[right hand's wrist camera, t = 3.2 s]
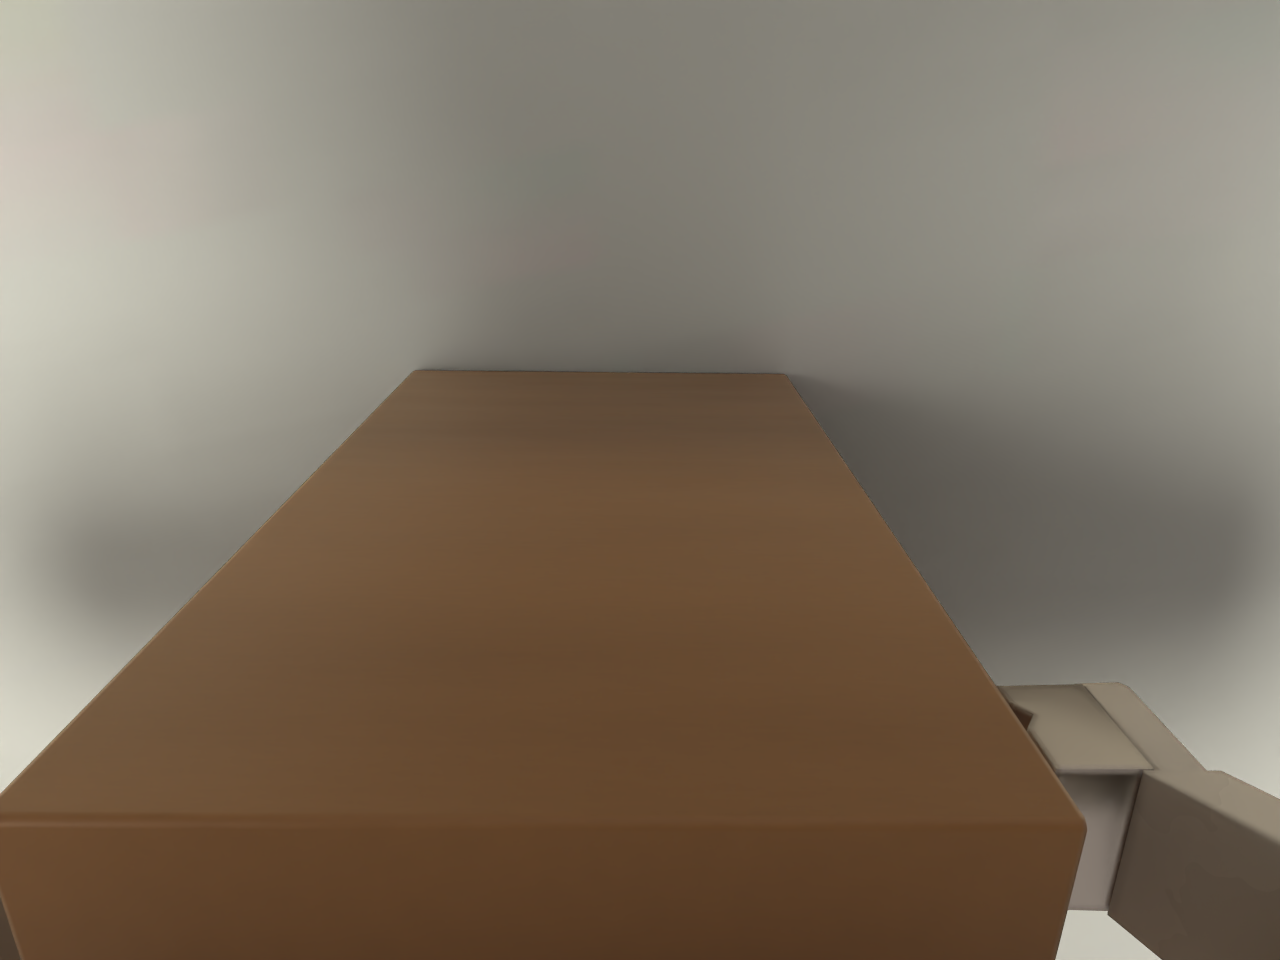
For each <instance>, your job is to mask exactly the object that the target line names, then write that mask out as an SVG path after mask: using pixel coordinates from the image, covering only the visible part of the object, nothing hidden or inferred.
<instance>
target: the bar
mask: <svg viewBox="0 0 1280 960" xmlns="http://www.w3.org/2000/svg"><path fill="white" fill-rule="evenodd" d="M1086 834H1087V824H1086V820H1085V817H1084V816H1083V814H1082V813H1081V811H1080V810H1079V808H1078V807H1077V805H1076V804H1075V802H1074V801H1073V800H1072V798H1071V797H1070V795H1069V794H1068V792H1067V791H1066V789H1065V788H1064V786H1063V785H1062V783H1061V782H1060V780H1059V779H1058V777H1057V776H1056V774H1055V773H1054V771H1053V770H1052V768H1051V767H1050V765H1049V764H1048V762H1047V761H1046V759H1045V758H1044V757H1043V755H1042V754H1041V752H1040V751H1039V749H1038V748H1037V746H1036V745H1035V743H1034V742H1033V740H1032V739H1031V737H1030V736H1029V734H1028V733H1027V731H1026V730H1025V728H1024V727H1023V725H1022V724H1021V722H1020V721H1019V719H1018V718H1017V717H1016V715H1015V714H1014V712H1013V711H1012V709H1011V708H1010V706H1009V705H1008V703H1007V702H1006V700H1005V699H1004V697H1003V696H1002V694H1001V693H1000V691H999V690H998V688H997V687H996V685H995V684H994V682H993V681H992V679H991V678H990V677H989V675H988V674H987V672H986V671H985V669H984V668H983V666H982V665H981V663H980V662H979V660H978V659H977V657H976V656H975V654H974V653H973V651H972V650H971V648H970V647H969V645H968V644H967V642H966V641H965V639H964V638H963V636H962V635H961V634H960V632H959V631H958V629H957V628H956V626H955V625H954V623H953V622H952V620H951V619H950V617H949V616H948V614H947V613H946V611H945V610H944V608H943V607H942V605H941V604H940V602H939V601H938V599H937V598H936V596H935V595H934V594H933V592H932V591H931V589H930V588H929V586H928V585H927V583H926V582H925V580H924V579H923V577H922V576H921V574H920V573H919V571H918V570H917V568H916V567H915V565H914V564H913V562H912V561H911V559H910V558H909V556H908V555H907V553H906V552H905V551H904V549H903V548H902V546H901V545H900V543H899V542H898V540H897V539H896V537H895V536H894V534H893V533H892V531H891V530H890V528H889V527H888V525H887V524H886V522H885V521H884V519H883V518H882V516H881V515H880V513H879V512H878V511H877V509H876V508H875V506H874V505H873V503H872V502H871V500H870V499H869V497H868V496H867V494H866V493H865V491H864V490H863V488H862V487H861V485H860V484H859V482H858V481H857V479H856V478H855V476H854V475H853V473H852V472H851V470H850V469H849V468H848V466H847V465H846V463H845V462H844V460H843V459H842V457H841V456H840V454H839V453H838V451H837V450H836V448H835V447H834V445H833V444H832V442H831V441H830V439H829V438H828V436H827V435H826V433H825V432H824V430H823V429H822V428H821V426H820V425H819V423H818V422H817V420H816V419H815V417H814V416H813V414H812V413H811V411H810V410H809V408H808V407H807V405H806V404H805V402H804V401H803V399H802V398H801V396H800V395H799V393H798V392H797V390H796V389H795V388H794V386H793V385H792V383H791V382H790V380H789V379H788V377H787V376H786V375H784V374H724V373H623V372H523V371H423V370H415V371H413V372H412V373H411V374H410V375H409V376H408V377H407V378H406V379H405V380H404V381H403V382H402V383H401V384H400V385H399V386H398V387H397V388H396V389H395V390H394V391H393V392H392V393H391V394H390V395H389V396H388V398H387V399H386V400H385V401H384V402H383V403H382V404H381V405H380V406H379V407H378V408H377V409H376V410H375V411H374V412H373V413H372V414H371V415H370V416H369V417H368V418H367V419H366V420H365V421H364V422H363V423H362V424H361V425H360V426H359V427H358V428H357V429H356V430H355V431H354V432H353V433H352V434H351V435H350V436H349V437H348V438H347V439H346V440H345V442H344V443H343V444H342V445H341V446H340V447H339V448H338V449H337V450H336V451H335V452H334V453H333V454H332V455H331V456H330V457H329V458H328V459H327V460H326V461H325V462H324V463H323V464H322V465H321V466H320V467H319V468H318V469H317V470H316V471H315V472H314V473H313V474H312V475H311V476H310V477H309V478H308V479H307V480H306V481H305V482H304V483H303V485H302V486H301V487H300V488H299V489H298V490H297V491H296V492H295V493H294V494H293V495H292V496H291V497H290V498H289V499H288V500H287V501H286V502H285V503H284V504H283V505H282V506H281V507H280V508H279V509H278V510H277V511H276V512H275V513H274V514H273V515H272V516H271V517H270V518H269V519H268V520H267V521H266V522H265V523H264V524H263V525H262V526H261V528H260V529H259V530H258V531H257V532H256V533H255V534H254V535H253V536H252V537H251V538H250V539H249V540H248V541H247V542H246V543H245V544H244V545H243V546H242V547H241V548H240V549H239V550H238V551H237V552H236V553H235V554H234V555H233V556H232V557H231V558H230V559H229V560H228V561H227V562H226V563H225V564H224V565H223V566H222V567H221V568H220V569H219V570H218V572H217V573H216V574H215V575H214V576H213V577H212V578H211V579H210V580H209V581H208V582H207V583H206V584H205V585H204V586H203V587H202V588H201V589H200V590H199V591H198V592H197V593H196V594H195V595H194V596H193V597H192V598H191V599H190V600H189V601H188V602H187V603H186V604H185V605H184V606H183V607H182V608H181V609H180V610H179V611H178V612H177V613H176V615H175V616H174V617H173V618H172V619H171V620H170V621H169V622H168V623H167V624H166V625H165V626H164V627H163V628H162V629H161V630H160V631H159V632H158V633H157V634H156V635H155V636H154V637H153V638H152V639H151V640H150V641H149V642H148V643H147V644H146V645H145V646H144V647H143V648H142V649H141V650H140V651H139V652H138V653H137V654H136V655H135V656H134V658H133V659H132V660H131V661H130V662H129V663H128V664H127V665H126V666H125V667H124V668H123V669H122V670H121V671H120V672H119V673H118V674H117V675H116V676H115V677H114V678H113V679H112V680H111V681H110V682H109V683H108V684H107V685H106V686H105V687H104V688H103V689H102V690H101V691H100V692H99V693H98V694H97V695H96V696H95V697H94V698H93V699H92V700H91V702H90V703H89V704H88V705H87V706H86V707H85V708H84V709H83V710H82V711H81V712H80V713H79V714H78V715H77V716H76V717H75V718H74V719H73V720H72V721H71V722H70V723H69V724H68V725H67V726H66V727H65V728H64V729H63V730H62V731H61V732H60V733H59V734H58V735H57V736H56V737H55V738H54V739H53V740H52V741H51V742H50V743H49V745H48V746H47V747H46V748H45V749H44V750H43V751H42V752H41V753H40V754H39V755H38V756H37V757H36V758H35V759H34V760H33V761H32V762H31V763H30V764H29V765H28V766H27V767H26V768H25V769H24V770H23V771H22V772H21V773H20V774H19V775H18V776H17V777H16V778H15V779H14V780H13V781H12V782H11V783H10V784H9V785H8V786H7V788H6V789H5V790H4V791H3V792H2V793H1V794H0V897H1V901H2V904H3V907H4V910H5V913H6V916H7V919H8V922H9V925H10V928H11V931H12V934H13V937H14V940H15V943H16V946H17V949H18V952H19V955H20V958H21V960H1055V958H1056V954H1057V950H1058V946H1059V942H1060V938H1061V934H1062V930H1063V926H1064V922H1065V918H1066V914H1067V910H1068V906H1069V902H1070V898H1071V894H1072V890H1073V886H1074V882H1075V878H1076V874H1077V870H1078V866H1079V862H1080V858H1081V854H1082V850H1083V846H1084V842H1085V838H1086Z"/></svg>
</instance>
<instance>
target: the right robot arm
mask: <svg viewBox="0 0 1280 960" xmlns="http://www.w3.org/2000/svg"><path fill="white" fill-rule="evenodd" d="M996 687H997V688H998V690H999V691H1000V693H1001V694H1002V696H1003V697H1004V699H1005V700H1006V702H1007V703H1008V705H1009V706H1010V708H1011V709H1012V711H1013V712H1014V714H1015V715H1016V717H1017V718H1018V719H1019V721H1020V722H1021V724H1022V725H1023V727H1024V728H1025V730H1026V731H1027V733H1028V734H1029V736H1030V737H1031V739H1032V740H1033V742H1034V743H1035V745H1036V746H1037V748H1038V749H1039V751H1040V752H1041V754H1042V755H1043V757H1044V758H1045V759H1046V761H1047V762H1048V764H1049V765H1050V767H1051V768H1052V770H1053V771H1054V773H1055V774H1056V776H1057V777H1058V779H1059V780H1060V782H1061V783H1062V785H1063V786H1064V788H1065V789H1066V791H1067V792H1068V794H1069V795H1070V797H1071V798H1072V800H1073V801H1074V802H1075V804H1076V805H1077V807H1078V808H1079V810H1080V811H1081V813H1082V814H1083V816H1084V817H1085V820H1086V824H1087V834H1086V838H1085V842H1084V846H1083V850H1082V854H1081V858H1080V862H1079V866H1078V870H1077V874H1076V878H1075V882H1074V886H1073V890H1072V894H1071V898H1070V902H1069V906H1068V910H1094V911H1108V914H1107V915H1109V916H1110V917H1111V918H1112V919H1113V920H1115V921H1116V922H1117V923H1118V924H1119V925H1121V926H1122V927H1123V928H1124V929H1126V930H1127V931H1128V932H1129V933H1130V934H1132V935H1133V936H1134V937H1135V938H1136V939H1138V940H1139V941H1140V942H1141V943H1142V944H1144V945H1145V946H1146V947H1147V948H1149V949H1150V950H1151V951H1152V952H1153V953H1155V954H1156V955H1157V956H1158V957H1159V958H1161V959H1162V960H1280V799H1278V798H1276V797H1274V796H1272V795H1270V794H1268V793H1266V792H1264V791H1262V790H1260V789H1258V788H1256V787H1254V786H1251V785H1249V784H1247V783H1245V782H1243V781H1241V780H1239V779H1237V778H1235V777H1233V776H1231V775H1229V774H1227V773H1225V772H1223V771H1207V770H1206V769H1205V768H1204V767H1203V766H1202V765H1201V764H1200V763H1199V762H1198V761H1197V760H1196V759H1195V757H1194V756H1193V755H1192V754H1191V753H1190V752H1189V751H1188V750H1187V749H1186V748H1185V747H1184V746H1183V745H1182V743H1181V742H1180V741H1179V740H1178V739H1177V738H1176V737H1175V736H1174V735H1173V734H1172V733H1171V732H1170V731H1169V729H1168V728H1167V727H1166V726H1165V725H1164V724H1163V723H1162V722H1161V721H1160V720H1159V719H1158V718H1157V717H1156V715H1155V714H1154V713H1153V712H1152V711H1151V710H1150V709H1149V708H1148V707H1147V706H1146V705H1145V704H1144V703H1143V701H1142V700H1141V699H1140V698H1139V697H1138V696H1137V695H1136V694H1135V693H1134V692H1133V691H1132V690H1131V689H1130V687H1128V686H1125V685H1123V684H1121V683H1119V682H1111V683H1083V684H1071V685H1019V686H996ZM0 960H21V958H20V955H19V952H18V949H17V946H16V943H15V940H14V937H13V934H12V931H11V928H10V925H9V922H8V919H7V916H6V913H5V910H4V907H3V904H2V901H1V897H0Z"/></svg>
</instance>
